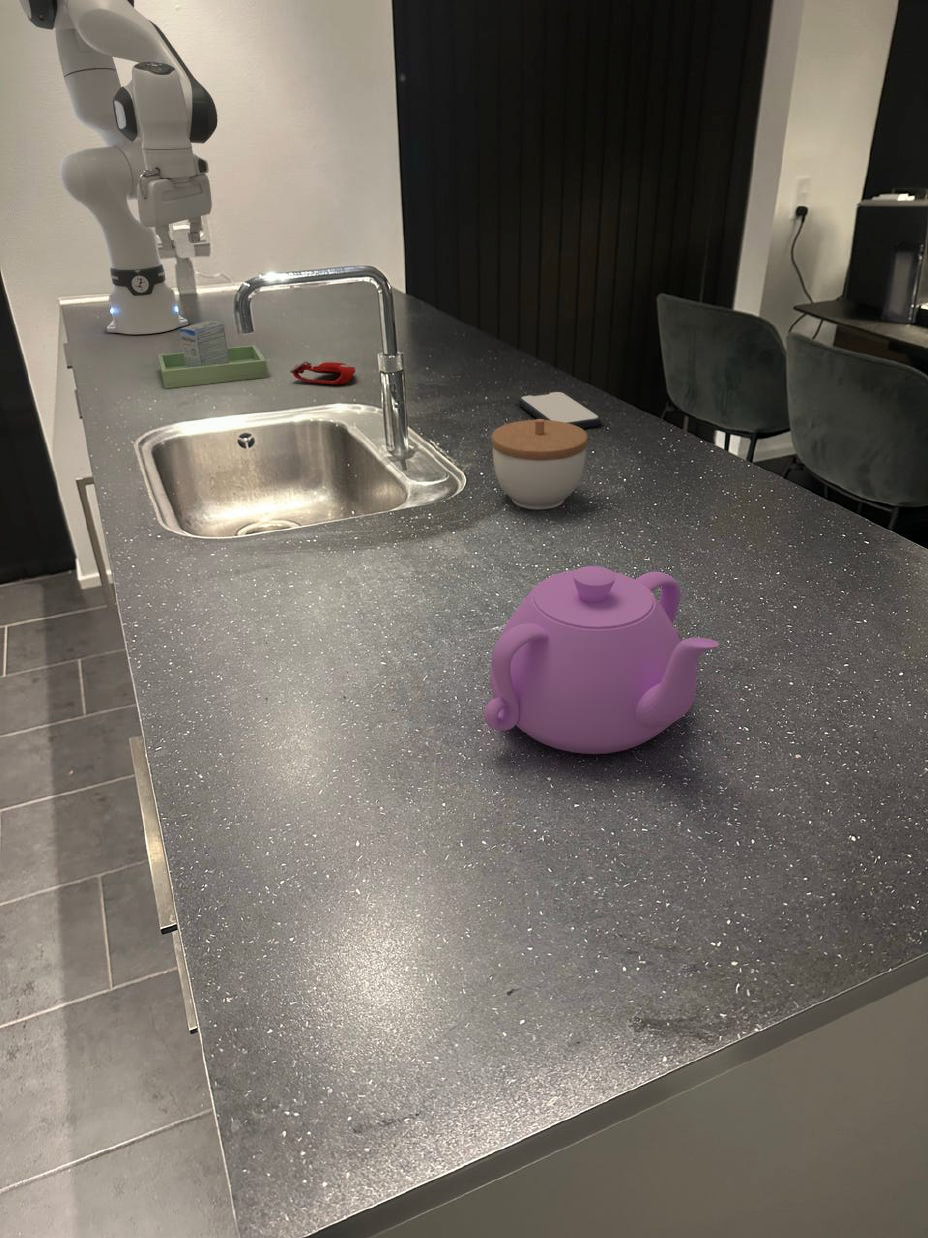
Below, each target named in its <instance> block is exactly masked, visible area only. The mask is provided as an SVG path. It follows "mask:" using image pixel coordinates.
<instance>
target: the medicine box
mask: <svg viewBox="0 0 928 1238" xmlns="http://www.w3.org/2000/svg"><path fill="white" fill-rule="evenodd" d="M179 336H180V342H181V346H182V352H183V353H184V359H185V365H186V368H190V367H199V366H209V365H218V364H228V363H229V357H228V350H227V348H228V343H227V337H226V329H225V324H224V322H219V321H214V320H206V321H202V322H198V323H194V324H190V325H186V326H183V327H180V328H179Z"/></svg>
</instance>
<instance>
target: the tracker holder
mask: <svg viewBox="0 0 928 1238" xmlns="http://www.w3.org/2000/svg"><path fill="white" fill-rule="evenodd" d="M305 371H309V372H313V373H316V374H324V375H339V377H338V378H337V379H335V380H320V379H310V378H306V377H303V376H301V375H300V374H304V373H305ZM289 373H290V374H292V375H293V377H294V378H296V379H297V380H300V381H303V382H306V383H314V384H325V385H339V386H341V385H345V384H347V383H349V382H350V381H351V379H352V378H353V376H354V374H355V373H356V368H355V367H354V366H348V365H347V364H346V363H344V362H339V361H326V362H322V363H320V364H319V365H314V366H312V362H311V361H307V360H304V361H302V362H300V363H298V364H296V365H295V366H294V367H292V368H291V369H290V370H289Z"/></svg>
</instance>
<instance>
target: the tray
mask: <svg viewBox="0 0 928 1238" xmlns="http://www.w3.org/2000/svg"><path fill="white" fill-rule="evenodd" d="M227 350H228V357H229V363H228V364H218V365H209V366H199V367H190V368H186V365H185V359H184V353H183V351H182V352H173V353H162V354H157V358H158V364H159V370H160V374H161V378H162V381H163V385H164V389H173V388H175V389H176V388H182V387H192V386H202V385H209V384H210V385H211V384H218V383H219V384H220V383H229V382H236V381H245V380H255V379H263V378H269V377H268V376H269V375H268V369H267V368H268V367H267V361H266V359H265V357H264V356H263V354H262V353H261V351H260V350H259V349H258V346H257V345H255V344H252V345H243V346H232V347H227Z"/></svg>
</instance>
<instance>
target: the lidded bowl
mask: <svg viewBox="0 0 928 1238" xmlns="http://www.w3.org/2000/svg"><path fill="white" fill-rule="evenodd" d="M588 442H589V436H588V433H587V432H586V430H584V428H583V429H582V428H580V427H578V426H575V425H573V424H569V423H565V422H560V421H552V420H544V419H537V418H536V419H528V420H526V419H525V420H518V421H513V422H509V423H506V424H503V425H501V426H499V427H497V428H495V430H493V432H492V434H491V446H492V463H493V471H494V474H495V478H496V480H497V483H498V485H499V486H500V488H501V490H502V491H503V492H504V494H506V495H507V496H508V498H510V499H511V502H512V503H513V504H515V505H516V506H518V507H520V508H523V509H528V510H549V509H550V510H551V509H554V508H557V507H559V506H561V505H562V504H564V502H565V500H566V499H567V498H569V496H570V495H571V494H572V493H573V492H575V490H576V488H577V487H578V485H579V484H580V482H581V480H582V477H583V473H584V470H585V463H586V457H587V448H588Z"/></svg>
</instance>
